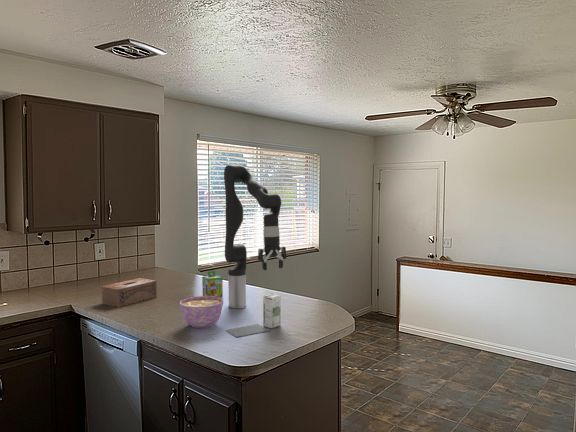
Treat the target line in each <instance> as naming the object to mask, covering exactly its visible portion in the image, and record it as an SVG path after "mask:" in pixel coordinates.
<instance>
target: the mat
mask: <svg viewBox="0 0 576 432" xmlns="http://www.w3.org/2000/svg"><path fill="white" fill-rule="evenodd" d="M225 331H226V332H227V333H229V334H231V336H233V337H235V338H241V337H247V336H251V335H256V334H261V333H267V332H270V330H269V329H268V328H267V327H264V326H263V325H261V324H259V323H255V324H250V325H245V326H239V327H234V328H228V329H226V330H225Z"/></svg>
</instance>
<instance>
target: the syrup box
mask: <svg viewBox="0 0 576 432" xmlns="http://www.w3.org/2000/svg"><path fill="white" fill-rule="evenodd" d="M262 298H263V309H262V311H263V314H262V315H263V319H262V320H263V321H262V322H263V323H262V324H263V325H262V326H263V327H265V328H267V329H268V328H269V329H275V328H277V327H280V326H281V310H282V309H281V306H282V305H281V301H282V300H281V295H279V294H277V293H269V294H266V295H263V297H262Z"/></svg>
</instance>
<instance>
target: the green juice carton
mask: <svg viewBox="0 0 576 432" xmlns="http://www.w3.org/2000/svg"><path fill="white" fill-rule="evenodd" d="M223 279H224V278H223V277H222V276H219V275H217V274H216V271H215V270H209V271H207V275H205V276H202V277H201V280H202V285H201V286H202V288H201V289H202V296H214V297H219V298H222V297H223V294H224V291H223Z"/></svg>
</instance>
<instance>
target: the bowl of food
mask: <svg viewBox="0 0 576 432" xmlns="http://www.w3.org/2000/svg"><path fill="white" fill-rule="evenodd" d="M223 305H224V299H223V298H222V297H214V296H203V295H202V296H200V295H199V296H191V297H187V298H185V299H181V300H180V301H179V307H180V309H181V314H182V317H183V320H184V322H185V323H186V324H187V325H189V326H190V327H193V328H194V329H198V330H199V329H207V328H210V327H211V326H213V325H215V324H216V323H218V321H219V320H220V318H221V315H222V309H223Z"/></svg>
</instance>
